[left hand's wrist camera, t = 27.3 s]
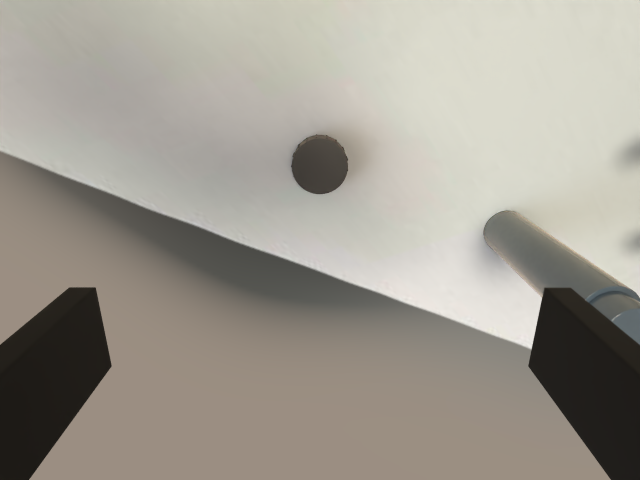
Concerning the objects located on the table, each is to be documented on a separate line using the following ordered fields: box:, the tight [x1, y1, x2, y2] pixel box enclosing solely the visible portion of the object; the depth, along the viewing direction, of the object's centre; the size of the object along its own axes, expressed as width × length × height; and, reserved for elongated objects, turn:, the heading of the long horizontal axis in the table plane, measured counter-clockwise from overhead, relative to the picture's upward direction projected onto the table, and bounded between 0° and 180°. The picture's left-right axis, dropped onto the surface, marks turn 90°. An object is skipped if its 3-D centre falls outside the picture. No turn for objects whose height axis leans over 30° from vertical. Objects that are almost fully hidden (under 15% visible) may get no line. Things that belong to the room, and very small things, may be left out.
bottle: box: [484, 211, 640, 345], centre depth 34 cm, size 4×4×18 cm
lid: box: [291, 135, 348, 194], centre depth 39 cm, size 5×5×2 cm
